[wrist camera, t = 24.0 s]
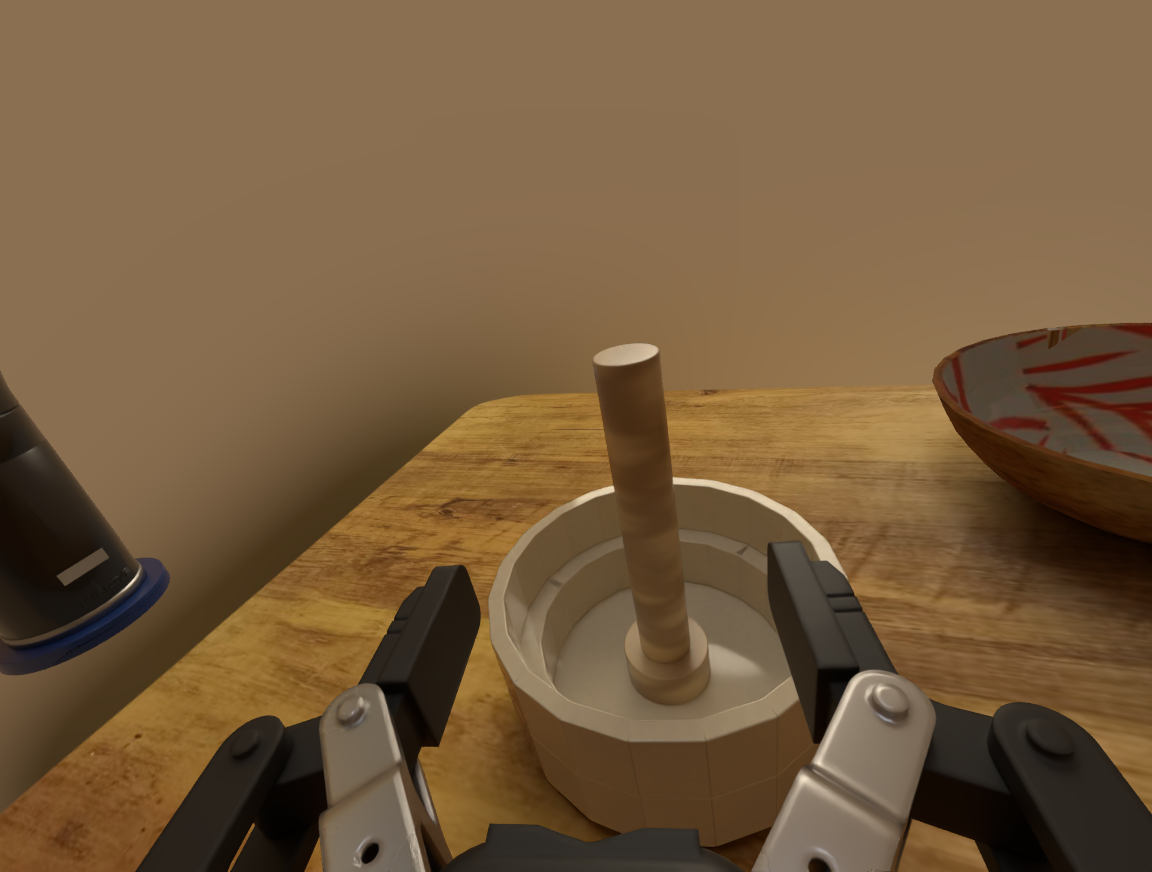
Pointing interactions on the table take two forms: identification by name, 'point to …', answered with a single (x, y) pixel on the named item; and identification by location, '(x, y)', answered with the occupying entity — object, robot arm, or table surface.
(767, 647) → the cream open cylinder
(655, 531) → the wooden pestle
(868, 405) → the table surface
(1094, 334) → the bowl
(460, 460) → the table surface
